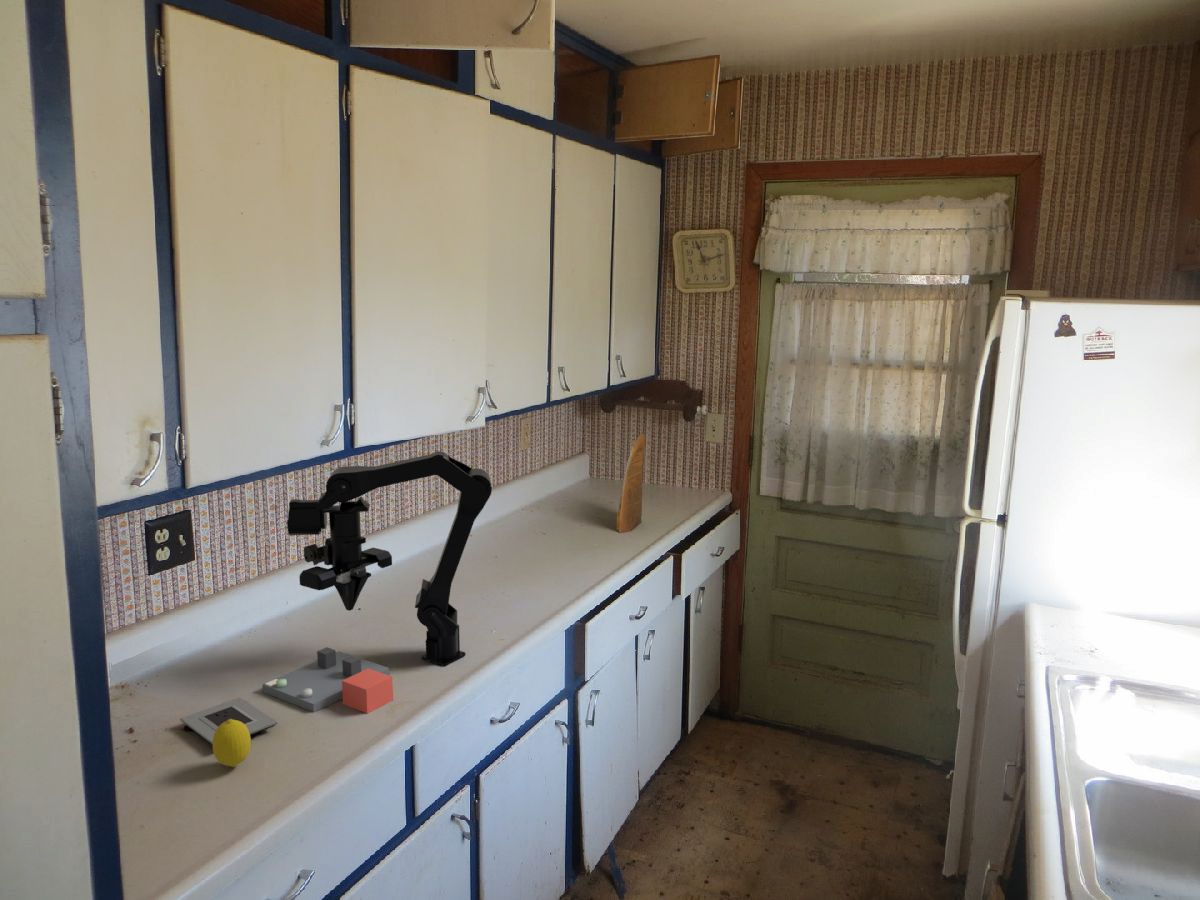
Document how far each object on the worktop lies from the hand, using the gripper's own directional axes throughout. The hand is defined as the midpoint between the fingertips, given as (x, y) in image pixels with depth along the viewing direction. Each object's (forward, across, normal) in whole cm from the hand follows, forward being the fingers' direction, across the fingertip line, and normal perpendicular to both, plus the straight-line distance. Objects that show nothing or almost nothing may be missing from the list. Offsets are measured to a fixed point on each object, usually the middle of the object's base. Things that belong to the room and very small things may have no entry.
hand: (349, 609), depth 178 cm
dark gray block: (+9, +6, 0) cm, 11 cm away
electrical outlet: (+12, +30, +3) cm, 32 cm away
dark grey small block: (+9, +6, +7) cm, 13 cm away
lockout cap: (+11, +10, +15) cm, 21 cm away
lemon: (+11, +37, +14) cm, 41 cm away
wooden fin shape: (+12, -116, -5) cm, 117 cm away
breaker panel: (+11, +9, +3) cm, 15 cm away
